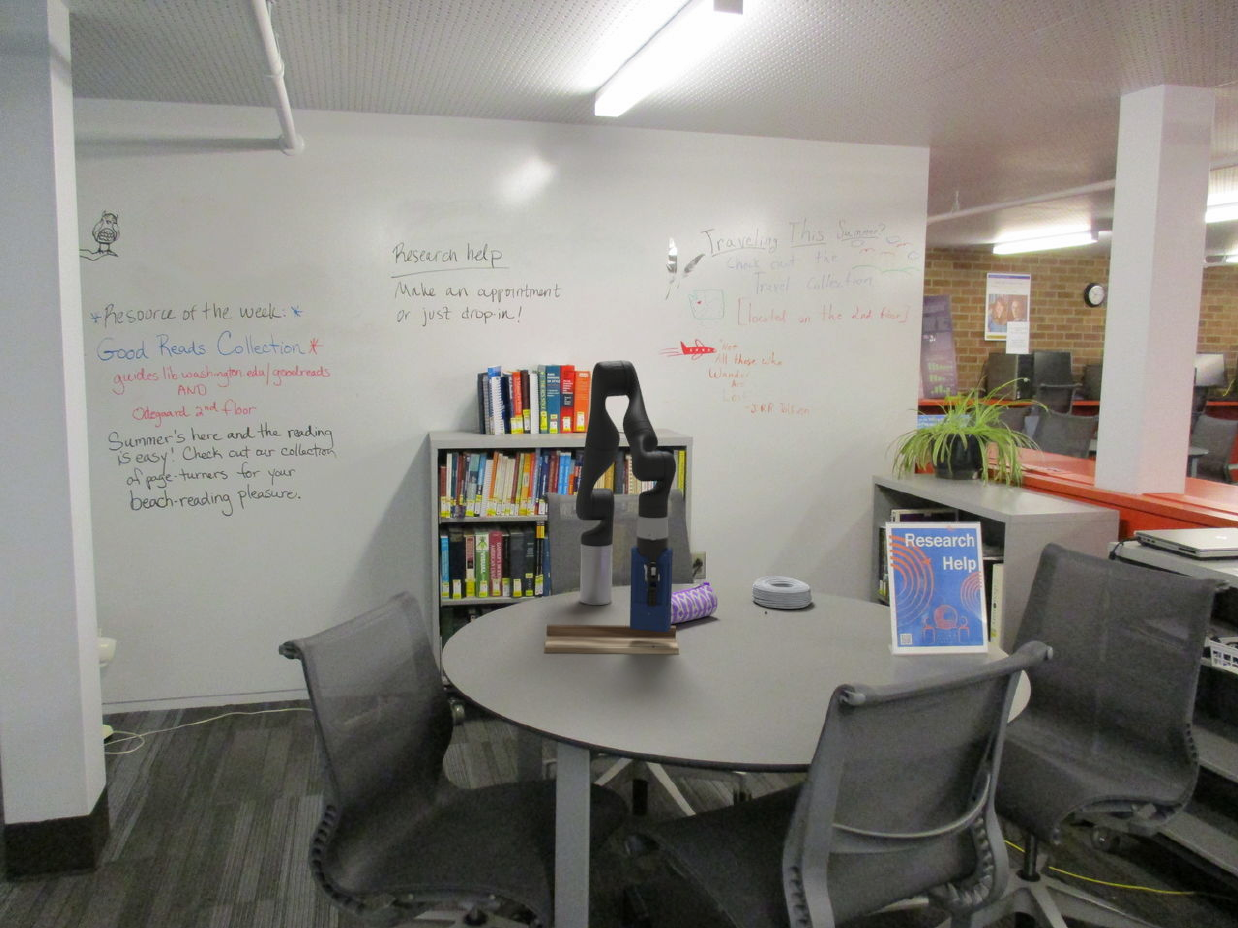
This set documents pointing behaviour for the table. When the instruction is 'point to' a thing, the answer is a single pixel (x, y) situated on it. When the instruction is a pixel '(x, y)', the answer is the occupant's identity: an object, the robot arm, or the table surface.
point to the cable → (781, 592)
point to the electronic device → (639, 610)
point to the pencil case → (693, 603)
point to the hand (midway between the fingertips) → (651, 602)
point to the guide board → (609, 639)
